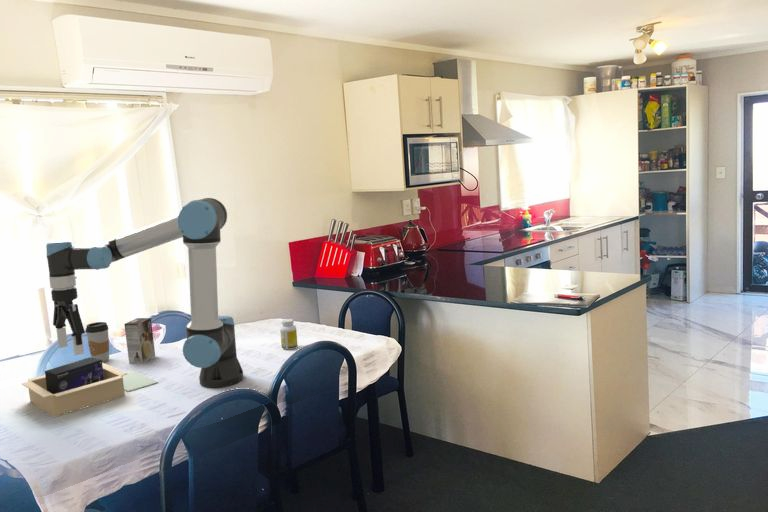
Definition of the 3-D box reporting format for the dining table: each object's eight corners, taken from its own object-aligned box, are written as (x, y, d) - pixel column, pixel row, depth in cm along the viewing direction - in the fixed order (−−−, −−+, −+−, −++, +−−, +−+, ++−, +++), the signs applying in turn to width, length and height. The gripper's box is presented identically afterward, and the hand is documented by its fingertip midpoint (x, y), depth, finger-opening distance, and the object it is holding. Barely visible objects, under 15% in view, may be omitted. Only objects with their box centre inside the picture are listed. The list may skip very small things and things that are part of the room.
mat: (158, 382, 228) (158, 381, 228) (128, 392, 220) (127, 390, 220) (131, 371, 243) (131, 370, 242) (102, 379, 235) (101, 378, 235)
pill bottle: (300, 346, 264) (299, 319, 262) (290, 351, 259) (288, 323, 257) (288, 344, 268) (286, 317, 266) (278, 349, 262) (276, 321, 260)
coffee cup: (84, 363, 255) (80, 326, 253) (101, 356, 263) (96, 321, 261) (100, 364, 252) (96, 327, 250) (116, 358, 260) (112, 322, 257)
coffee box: (141, 356, 262) (137, 317, 259) (155, 356, 260) (151, 317, 258) (128, 363, 253) (123, 323, 250) (143, 363, 251) (138, 323, 249)
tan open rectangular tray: (133, 395, 217) (131, 375, 216) (49, 420, 198) (47, 399, 197) (101, 379, 235) (98, 361, 234) (21, 401, 216) (19, 381, 215)
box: (59, 409, 208) (54, 373, 206) (47, 405, 211) (43, 370, 209) (106, 391, 222) (102, 358, 220) (94, 388, 225) (90, 356, 224)
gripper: (91, 290, 205) (98, 354, 208) (61, 281, 222) (68, 341, 225) (66, 294, 199) (74, 360, 203) (37, 285, 217) (45, 346, 220)
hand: (71, 350), depth 214 cm, fingers open, 13 cm apart
